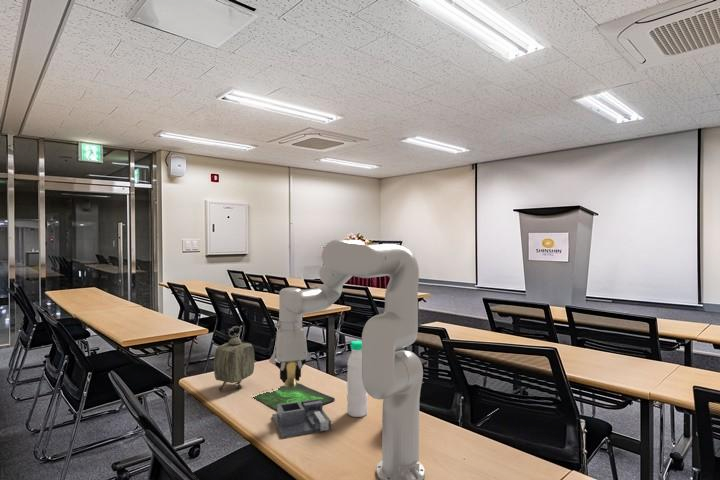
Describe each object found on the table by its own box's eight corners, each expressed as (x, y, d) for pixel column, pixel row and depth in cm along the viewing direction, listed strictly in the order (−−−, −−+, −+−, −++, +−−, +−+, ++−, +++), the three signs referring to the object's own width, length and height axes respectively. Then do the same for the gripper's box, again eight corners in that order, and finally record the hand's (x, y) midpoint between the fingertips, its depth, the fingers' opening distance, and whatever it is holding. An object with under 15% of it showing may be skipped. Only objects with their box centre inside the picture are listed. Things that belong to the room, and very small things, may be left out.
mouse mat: (248, 396, 160) (248, 394, 160) (294, 382, 175) (294, 380, 175) (288, 419, 140) (288, 416, 140) (337, 401, 156) (337, 398, 156)
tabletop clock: (239, 380, 177) (239, 322, 177) (256, 384, 173) (256, 324, 173) (213, 392, 164) (213, 329, 164) (231, 395, 160) (231, 331, 160)
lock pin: (328, 429, 130) (328, 421, 130) (320, 431, 129) (320, 422, 129) (320, 418, 138) (320, 410, 138) (312, 419, 137) (312, 411, 137)
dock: (331, 429, 132) (332, 413, 132) (281, 438, 126) (281, 422, 126) (317, 409, 147) (317, 395, 147) (272, 417, 141) (272, 402, 141)
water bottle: (365, 418, 140) (365, 345, 140) (345, 416, 141) (345, 343, 141) (369, 410, 147) (369, 339, 147) (349, 408, 148) (349, 338, 148)
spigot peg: (297, 386, 136) (297, 356, 136) (285, 388, 135) (285, 357, 135) (294, 382, 140) (295, 353, 140) (283, 383, 139) (283, 354, 138)
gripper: (267, 329, 131) (266, 387, 131) (318, 325, 137) (317, 381, 137) (263, 325, 137) (263, 379, 138) (312, 321, 144) (311, 373, 144)
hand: (290, 379), depth 137 cm, fingers closed on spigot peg, 4 cm apart
